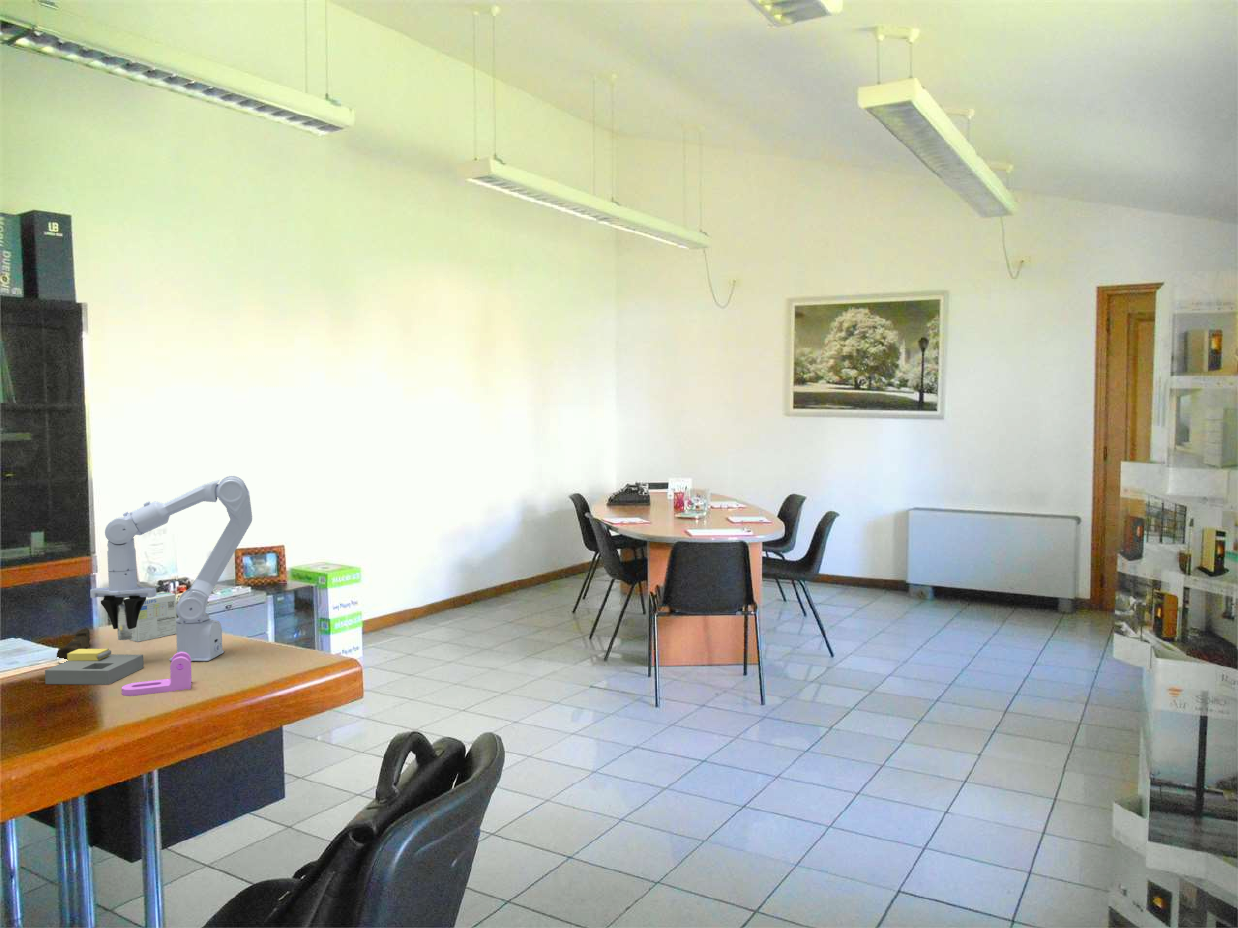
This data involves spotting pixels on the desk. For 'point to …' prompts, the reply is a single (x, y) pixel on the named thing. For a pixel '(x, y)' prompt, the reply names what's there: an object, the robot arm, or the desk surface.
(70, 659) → the latch flap
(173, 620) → the light bulb box
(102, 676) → the plate
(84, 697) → the desk surface
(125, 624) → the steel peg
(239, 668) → the desk surface
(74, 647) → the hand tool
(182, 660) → the bracket
